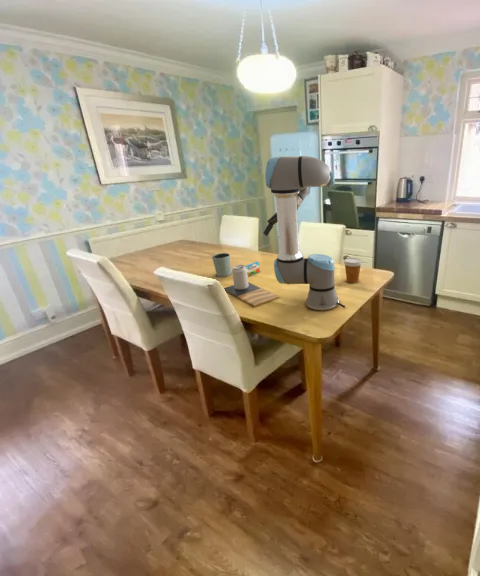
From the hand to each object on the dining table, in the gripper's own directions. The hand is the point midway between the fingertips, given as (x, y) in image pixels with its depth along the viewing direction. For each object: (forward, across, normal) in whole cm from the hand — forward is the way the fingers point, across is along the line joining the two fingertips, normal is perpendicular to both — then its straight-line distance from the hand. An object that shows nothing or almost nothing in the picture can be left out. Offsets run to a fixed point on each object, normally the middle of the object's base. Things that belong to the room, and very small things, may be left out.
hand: (272, 236), depth 169 cm
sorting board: (+32, -4, -4) cm, 33 cm away
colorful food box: (+20, +21, -16) cm, 33 cm away
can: (+31, +4, -4) cm, 32 cm away
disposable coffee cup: (-2, -31, -39) cm, 50 cm away
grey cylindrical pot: (+29, +33, -8) cm, 44 cm away
